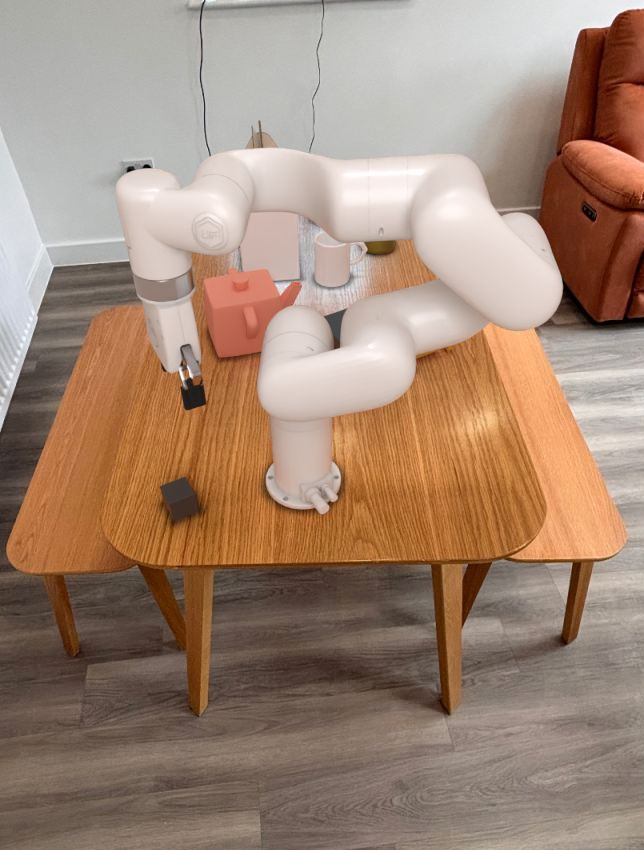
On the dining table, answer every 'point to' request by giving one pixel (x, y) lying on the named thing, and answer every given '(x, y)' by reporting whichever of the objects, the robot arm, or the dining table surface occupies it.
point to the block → (179, 498)
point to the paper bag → (271, 234)
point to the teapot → (243, 309)
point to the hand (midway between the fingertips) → (183, 387)
